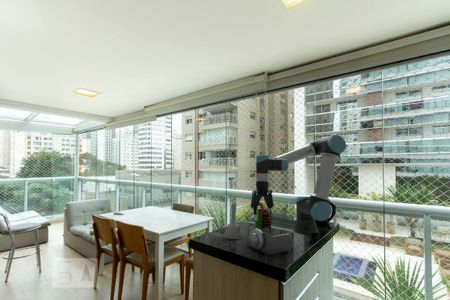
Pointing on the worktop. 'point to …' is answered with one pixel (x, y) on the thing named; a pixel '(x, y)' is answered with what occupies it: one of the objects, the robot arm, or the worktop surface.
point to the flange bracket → (268, 241)
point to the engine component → (233, 225)
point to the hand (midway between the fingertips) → (262, 219)
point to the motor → (263, 218)
